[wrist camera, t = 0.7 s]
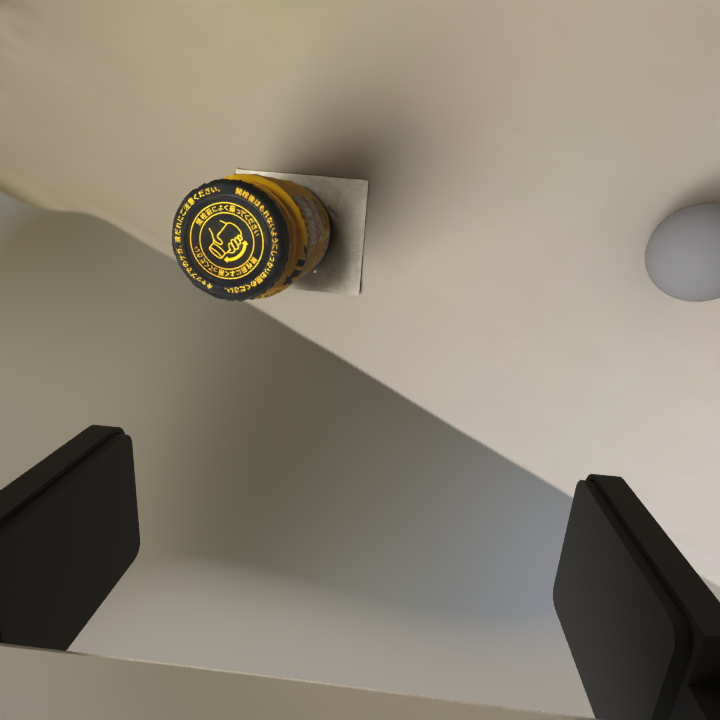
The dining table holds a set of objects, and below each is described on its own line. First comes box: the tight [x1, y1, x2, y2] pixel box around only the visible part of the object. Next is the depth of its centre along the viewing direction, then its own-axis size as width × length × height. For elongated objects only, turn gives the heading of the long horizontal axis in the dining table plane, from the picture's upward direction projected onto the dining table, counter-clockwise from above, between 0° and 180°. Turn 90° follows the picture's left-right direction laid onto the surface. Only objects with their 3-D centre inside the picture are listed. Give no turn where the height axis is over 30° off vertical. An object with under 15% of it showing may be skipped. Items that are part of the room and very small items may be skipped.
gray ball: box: [645, 203, 720, 302], centre depth 29 cm, size 6×6×6 cm
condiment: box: [172, 169, 368, 301], centre depth 28 cm, size 7×8×12 cm
